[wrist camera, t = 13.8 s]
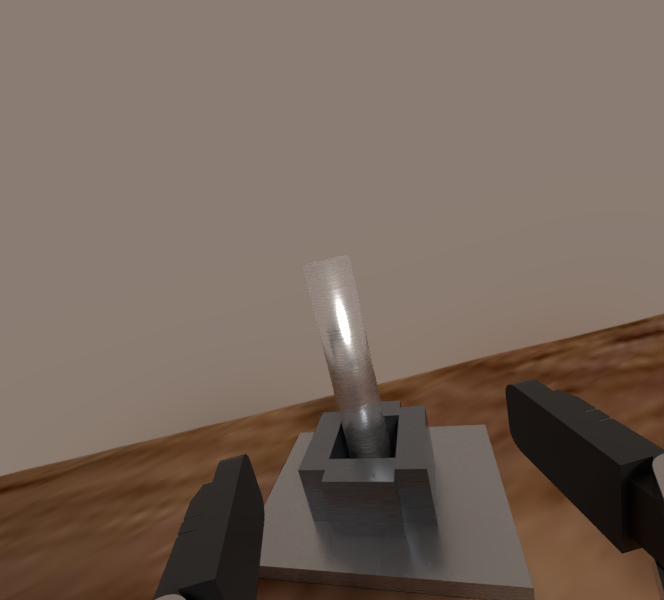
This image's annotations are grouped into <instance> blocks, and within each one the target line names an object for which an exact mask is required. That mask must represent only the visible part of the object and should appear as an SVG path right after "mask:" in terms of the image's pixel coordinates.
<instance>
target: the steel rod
mask: <svg viewBox="0 0 664 600" xmlns="http://www.w3.org/2000/svg"><path fill="white" fill-rule="evenodd" d="M303 269H304V273H305V277H306V281H307V285H308V290H309V293H310V297H311V301H312V306H313V309H314V313H315V317H316V321H317V325H318V329H319V333H320V338H321V342H322V346H323V349H324V354H325V358H326V362H327V366H328V370H329V373H330V378H331V382H332V386H333V390H334V394H335V398H336V402H337V406H338V410H339V414H340V418H341V422H342V426H343V430H344V434H345V438H346V442H347V446H348V450H349V454H350V458H351V459H359V458H393V456H392V451H391V447H390V442H389V437H388V433H387V428H386V424H385V419H384V414H383V410H382V405H381V400H380V396H379V391H378V386H377V382H376V377H375V373H374V368H373V363H372V359H371V354H370V350H369V345H368V340H367V336H366V331H365V326H364V322H363V317H362V313H361V308H360V303H359V298H358V294H357V289H356V285H355V280H354V275H353V271H352V266H351V261H350V257H349V255H342V256H335V257H331V258H326V259H322V260H318V261H314V262H312V263H309V264H306V265H304V266H303Z"/></svg>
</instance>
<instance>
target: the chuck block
mask: <svg viewBox="0 0 664 600" xmlns="http://www.w3.org/2000/svg"><path fill="white" fill-rule="evenodd" d="M381 405H382V410H383V414H384V419H385V424H386V428H387V433H388V437H389V442H390V447H391V451H392V456H393V458H359V459H351V458H350V454H349V450H348V446H347V442H346V438H345V434H344V430H343V426H342V422H341V418H340V414H339V411H338V412H323V414H322V416H321V419H320V421H319V423H318V425H317V428H316V430H315V432H311V433H300V435H299V437H298V439H297V441H296V443H295V445H294V447H293V449H292V451H291V453H290V455H289V457H288V459H287V461H286V463H285V465H284V467H283V469H282V471H281V473H280V475H279V477H278V479H277V481H276V483H275V485H274V487H273V489H272V491H271V493H270V495H269V497H268V499H267V502H266V504H265V506H264V512H265V520H264V530H263V540H262V549H261V558H260V568H259V577H258V578H265V579H275V580H286V581H297V582H308V583H318V584H329V585H340V586H350V587H361V588H372V589H382V590H393V591H404V592H414V593H425V594H436V595H446V596H457V597H468V598H478V599H489V600H535V598H534V589H533V585H532V582H531V578H530V575H529V572H528V568H527V565H526V561H525V558H524V555H523V551H522V548H521V545H520V541H519V538H518V534H517V531H516V528H515V524H514V521H513V517H512V514H511V511H510V507H509V504H508V501H507V497H506V494H505V490H504V487H503V484H502V480H501V477H500V474H499V470H498V467H497V463H496V460H495V457H494V453H493V450H492V447H491V443H490V440H489V436H488V433H487V430H486V426H485V425H465V426H443V427H429V426H428V421H427V415H426V410H425V406H417V407H401V402H400V401H388V402H381Z"/></svg>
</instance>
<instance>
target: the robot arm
mask: <svg viewBox="0 0 664 600" xmlns="http://www.w3.org/2000/svg"><path fill="white" fill-rule="evenodd" d="M506 400H507V409H508V418H509V427H510V432H511V435H512V438H513V440H514V442H515V444H516V445H517V447H518V448H519V449H520V451H521V452H522V453H523V454H524V455H525V456H526V457H527V458H528V459H529V460H530V461H531V462H532V463H533V464H534V465H535V466H536V467H537V468H538V469H539V470H540V471H541V472H542V473H543V474H544V475H545V476H546V477H547V478H548V479H549V480H550V481H551V482H552V483H553V484H554V485H555V486H556V487H557V488H558V489H559V490H560V491H561V492H562V493H563V494H564V495H565V496H566V497H567V498H568V499H569V500H570V501H571V502H572V503H573V504H574V505H575V506H576V507H577V508H578V509H579V510H580V511H581V512H582V513H583V514H584V515H585V516H586V517H587V518H588V519H589V520H590V521H591V522H592V523H593V524H594V525H595V526H596V527H597V529H598V530H599V531H600V532H601V533H602V534H603V535H604V536H605V537H606V538H607V539H608V540H609V541H610V542H611V543H612V544H613V545H614V546H615V547H616V548H617V549H618V550H619V551H620V552H621V553H626V552H629V551H632V550H636V549H639V548H643V549H645V550H646V551H647V552H648V553H649V554H650V555H651V556H652V569H653V573H654V577H655V580H656V584H657V588H658V591H659V595H660V599H661V600H664V450H663V449H662V448H660V447H658V446H657V445H655V444H653V443H652V442H650V441H649V440H647V439H645V438H644V437H642V436H640V435H639V434H637V433H636V432H634V431H632V430H631V429H629V428H627V427H626V426H624V425H623V424H621V423H619V422H618V421H616V420H614V419H610V417H609V416H608V415H606V414H605V413H603V412H601V411H600V410H596V409H595V407H593V406H592V405H590V404H588V403H587V402H585V401H583V400H582V399H580V398H579V397H576V396H573V395H570V394H567V393H564V392H561V391H558V390H556V391H553V390H551V389H550V388H548V387H546V386H545V385H543V384H542V383H540V382H539V381H537V380H535V379H528V380H525V381H521V382H517V383H513V384H510V385H507V387H506ZM264 520H265V512H264V503H263V498H262V495H261V492H260V489H259V486H258V483H257V480H256V477H255V474H254V471H253V468H252V465H251V462H250V459H249V457H248V456H247V455H246V454H244V455H241V456H237V457H233V458H229V459H226V460H222V461H220V462H219V464H218V467H217V470H216V473H215V476H214V479H213V482H212V483H208V484H204V485H203V486H202V487H201V489H200V490H199V491H198V492H197V494H196V495H195V496H194V498H193V499H192V500H191V502H190V504H189V507H188V510H187V512H186V515H185V517H184V522H183V523H182V525H181V528H180V531H179V533H178V538H176V541H175V544H174V546H173V549H172V552H171V554H170V557H169V560H168V562H167V565H166V567H165V570H164V573H163V575H162V578H161V581H160V583H159V586H158V588H157V591H156V594H155V596H154V599H153V600H256V596H257V586H258V577H259V568H260V558H261V549H262V540H263V530H264Z"/></svg>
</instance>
